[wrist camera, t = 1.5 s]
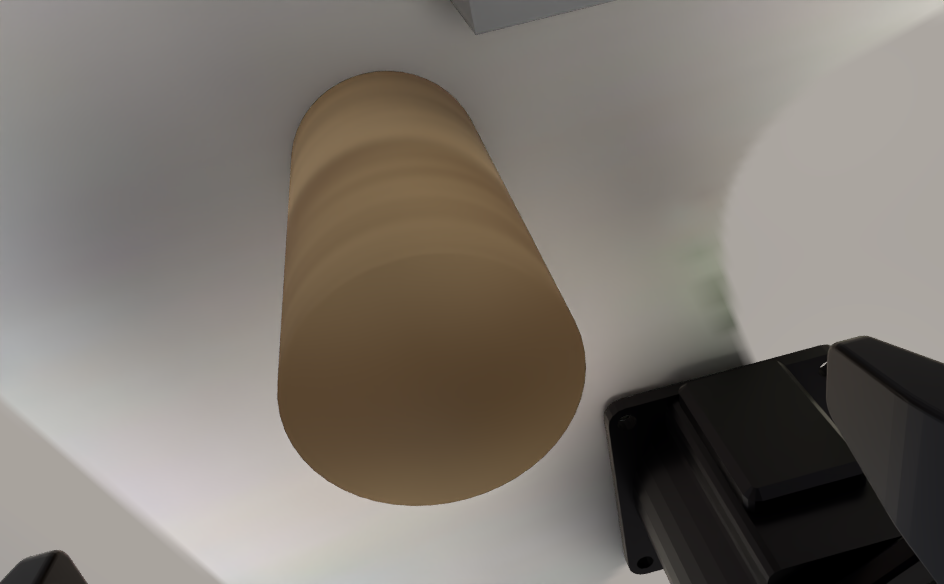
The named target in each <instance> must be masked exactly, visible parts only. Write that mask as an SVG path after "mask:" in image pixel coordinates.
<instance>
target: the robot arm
mask: <svg viewBox="0 0 944 584" xmlns="http://www.w3.org/2000/svg"><path fill="white" fill-rule="evenodd" d="M825 362H827V363H826V364H825V365H824V366H823V367H820V366H821V365H822V364H823V363H825ZM626 415H630V416H629V418H628V419H626V420H624V421H619V420H620V419H621V418H622V417H624V416H626ZM604 422H605V428H606V435H607V442H608V449H609V455H610V462H611V469H612V476H613V482H614V489H615V496H616V503H617V509H618V516H619V523H620V530H621V536H622V543H623V550H624V557H625V559H626V561H627V564H628V566H629V568H630V570H631V571H632V572H633V573H635V574H647V573H651V572H654V571H658V570H661V569H664V571H665V573H666V575H667V577H668V579H669V581H670V583H671V584H944V363H941V362H939V361H936V360H933V359H930V358H927V357H925V356H922V355H919V354H917V353H914V352H911V351H908V350H906V349H903V348H900V347H897V346H894V345H891V344H889V343H886V342H883V341H880V340H878V339H875V338H872V337H869V336H858V337H855V338H851V339H847V340H843V341H840V342H836V343H834V344H833V345H831V346H830V345H820V346H816V347H812V348H809V349H805V350H801V351H797V352H794V353H790V354H786V355H782V356H779V357H775V358H772V359H768V360H764V361H760V362H756V363H753V364H749V365H745V366H741V367H738V368H734V369H730V370H727V371H723V372H719V373H715V374H712V375H708V376H704V377H700V378H697V379H693V380H689V381H685V382H682V383H678V384H674V385H671V386H667V387H663V388H659V389H656V390H652V391H648V392H644V393H641V394H637V395H633V396H630V397H626V398H622V399H619V400H617V401H615V402H613V403H612V404H610V405H609V406H608V407H607V409H606V411H605V413H604ZM0 584H88V583H87V582H86V581H85V579H84V578H83V576H82V575H81V573H80V572H79V570H78V569H77V567H76V566H75V564H74V563H73V561H72V560H71V558H70V557H69V556H68V555H67V554H66V553H65V552H63V551H61V550H53V551H49V552H45V553H42V554H38V555H34V556H30V557H28V558H25V559H23V560H22V561H20V562H19V563H18V564H17V565H16V566H15V567H14V568H13V569H12V570H11V571H10V572H9V573H8V574H7V576H6V577H5V578H4V579H3V580H2V581H1V582H0Z"/></svg>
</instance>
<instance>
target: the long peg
mask: <svg viewBox="0 0 944 584" xmlns="http://www.w3.org/2000/svg"><path fill="white" fill-rule="evenodd" d="M585 372H586V363H585V351H584V347H583V342H582V338H581V335H580V332H579V330H578V328H577V325H576V323H575V320H574V319H573V317H572V315H571V313H570V311H569V309H568V307H567V305H566V303H565V301H564V299H563V297H562V295H561V293H560V291H559V289H558V288H557V286H556V284H555V282H554V280H553V278H552V276H551V274H550V272H549V270H548V268H547V266H546V264H545V262H544V260H543V259H542V257H541V255H540V253H539V251H538V249H537V247H536V245H535V243H534V241H533V239H532V237H531V235H530V233H529V231H528V229H527V228H526V226H525V224H524V222H523V220H522V218H521V216H520V214H519V212H518V210H517V208H516V206H515V204H514V202H513V200H512V199H511V197H510V195H509V193H508V191H507V189H506V187H505V185H504V183H503V181H502V179H501V177H500V175H499V173H498V171H497V169H496V168H495V166H494V164H493V162H492V160H491V158H490V156H489V154H488V152H487V150H486V148H485V146H484V144H483V142H482V140H481V139H480V137H479V135H478V133H477V131H476V129H475V127H474V125H473V123H472V121H471V119H470V118H469V116H468V114H467V113H466V111H465V110H464V108H463V107H462V106H461V105H460V103H459V102H458V101H457V100H456V99H455V98H454V97H453V96H452V95H451V94H449V93H448V92H447V91H446V90H444V89H443V88H441V87H440V86H439V85H437V84H435V83H433V82H431V81H429V80H427V79H425V78H422V77H419V76H416V75H413V74H409V73H404V72H395V71H378V72H371V73H365V74H361V75H358V76H355V77H352V78H349V79H347V80H345V81H343V82H341V83H339V84H337V85H335V86H334V87H332V88H331V89H329V90H328V91H327V92H325V93H324V94H323V95H322V96H321V97H320V98H318V99H317V101H316V102H315V103H314V104H313V105H312V106H311V107H310V108H309V110H308V111H307V113H306V114H305V116H304V117H303V119H302V121H301V123H300V125H299V127H298V129H297V132H296V136H295V139H294V142H293V148H292V155H291V172H290V188H289V204H288V221H287V237H286V253H285V270H284V286H283V303H282V319H281V335H280V352H279V368H278V393H277V399H278V406H279V413H280V417H281V420H282V423H283V426H284V429H285V432H286V434H287V436H288V438H289V439H290V441H291V443H292V445H293V447H294V448H295V449H296V451H297V452H298V453H299V455H300V456H301V458H302V459H303V460H304V461H305V462H306V463H307V464H308V465H309V466H310V467H311V468H312V469H313V470H314V471H315V472H317V473H318V474H319V475H321V476H322V477H323V478H325V479H326V480H327V481H329V482H331V483H332V484H334V485H336V486H338V487H339V488H341V489H343V490H345V491H348V492H350V493H352V494H355V495H357V496H360V497H363V498H367V499H370V500H373V501H377V502H383V503H388V504H395V505H408V506H423V505H437V504H445V503H451V502H456V501H460V500H465V499H468V498H472V497H475V496H478V495H481V494H484V493H486V492H489V491H491V490H493V489H496V488H498V487H500V486H502V485H504V484H506V483H508V482H509V481H511V480H513V479H515V478H517V477H518V476H519V475H521V474H522V473H524V472H525V471H527V470H528V469H530V468H531V467H532V466H533V465H535V464H536V463H537V462H538V461H539V460H540V459H542V458H543V457H544V456H545V455H546V454H547V453H548V452H549V451H550V450H551V448H552V447H553V446H554V445H555V444H556V443H557V442H558V440H559V439H560V438H561V436H562V435H563V434H564V432H565V431H566V429H567V428H568V426H569V424H570V422H571V421H572V419H573V417H574V415H575V413H576V410H577V408H578V405H579V403H580V400H581V396H582V392H583V388H584V384H585Z"/></svg>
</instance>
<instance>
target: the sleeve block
mask: <svg viewBox="0 0 944 584" xmlns="http://www.w3.org/2000/svg"><path fill="white" fill-rule="evenodd" d="M450 1H451V2H452V3H453V5H454V6H455V7H456V9H457V10H458V12H459V13H460V14H461V16H462V17H463V18H464V20H465V21H466V22H467V24H468V25H469V27H470V28H471V29H472V31H473V32H474V33H475V35H478V34H482V33H486V32H490V31H494V30H498V29H502V28H506V27H510V26H514V25H518V24H522V23H526V22H530V21H534V20H539V19H543V18H547V17H551V16H555V15H559V14H563V13H567V12H571V11H575V10H579V9H583V8H587V7H591V6H595V5H599V4H603V3H607V2H611V1H615V0H450Z"/></svg>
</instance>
